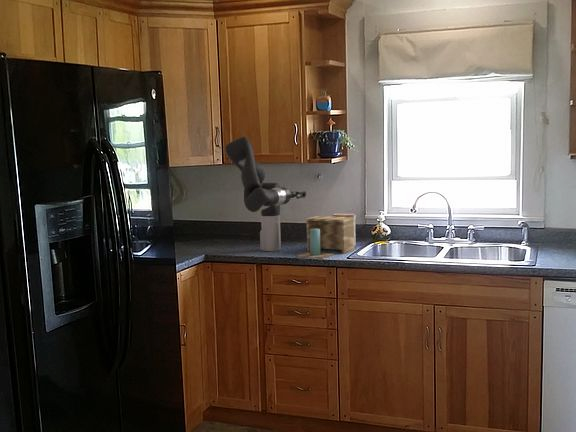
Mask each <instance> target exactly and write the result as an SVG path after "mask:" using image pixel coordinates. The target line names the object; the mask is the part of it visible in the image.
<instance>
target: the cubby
mask: <svg viewBox="0 0 576 432" xmlns="http://www.w3.org/2000/svg"><path fill="white" fill-rule="evenodd" d="M310 229H320V249H323V250H324V249H325V250H326V249H327V250H338V251H341V254H343V255H344V254H347V253H350V252H353V251H355V247H354V217H332V216H328V215H327V216H325V215H315V216H310V217H307V218H306V251H307V252H310Z"/></svg>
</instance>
